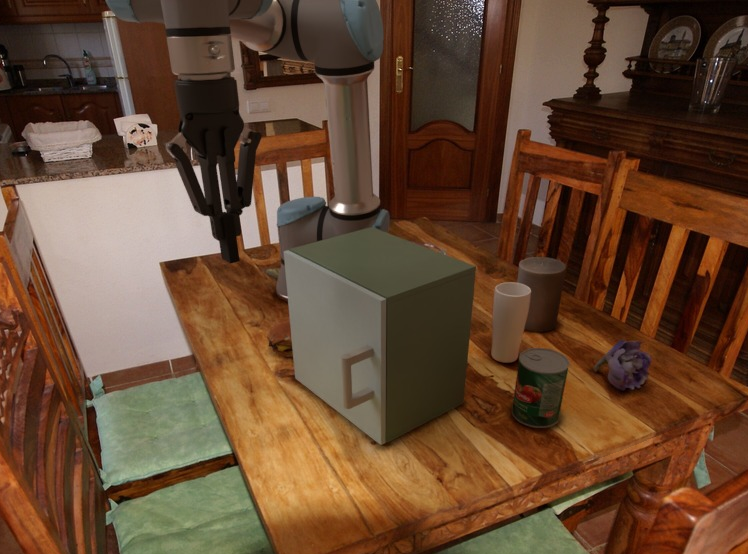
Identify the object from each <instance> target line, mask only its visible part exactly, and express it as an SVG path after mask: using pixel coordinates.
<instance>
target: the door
mask: <svg viewBox="0 0 748 554" xmlns="http://www.w3.org/2000/svg"><path fill="white" fill-rule="evenodd" d="M284 261H285V272H286V283H287V294H288V302H287V304H288V305H287V306H288V316H289V321H290V327H291V338H292V349H293V357H292V360H293V369H294V370H293V371H294V379H295V380H296V381H298V382H299V383H300V384H302V385H303V386H304V387H305V388H307V389H308V390H309V391H310V392H312V393H313V394H314V395H316V396H317V397H318V398H319V399H321V400H322V401H323V402H324V403H326V404H327V405H328V406H330V407H331V408H332V409H333V410H334V411H336V412H337V413H339V414H340V415H341V416H342V417H344V418H345V419H346V420H348V421H349V422H350V423H351V424H353V425H354V426H355V427H357V428H358V429H359V430H360V431H362V432H363V433H364V434H365V435H367V436H368V437H369V438H371V439H372V440H373V441H375V442H376V443H377V444H378V445H379V446H383V445H385V444H386V442H385V436H386V299H385V298H383V297H381V296H379V295H377V294H375V293H373V292H371V291H369V290H367V289H365V288H363V287H361V286H359V285H357V284H355V283H353V282H351V281H349V280H347V279H345V278H343V277H341V276H339V275H337V274H335V273H333V272H331V271H329V270H327V269H325V268H323V267H321V266H319V265H317V264H315V263H313V262H311V261H309V260H307V259H305V258H303V257H301V256H299V255H297V254H295V253H293V252H291V251H289V250H287V251H284Z"/></svg>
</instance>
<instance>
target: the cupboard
mask: <svg viewBox="0 0 748 554" xmlns="http://www.w3.org/2000/svg"><path fill="white" fill-rule="evenodd" d="M290 251H291V252H293V253H295V254H297V255H299V256H301V257H303V258H305V259H307V260H309V261H311V262H313V263H315V264H317V265H319V266H321V267H323V268H325V269H327V270H329V271H331V272H333V273H335V274H337V275H339V276H341V277H343V278H345V279H347V280H349V281H351V282H353V283H355V284H357V285H359V286H361V287H363V288H365V289H367V290H369V291H371V292H373V293H375V294H377V295H379V296H381V297H383V298H385V299H386V436H385V444H388V443H390V442H392V441H394V440H396V439H398V438H400V437H401V436H404V435H405V434H408V433H409V432H411V431H413V430H416V429H417V428H418V427H421V426H422V425H424V424H426V423H429V422H430V421H433V420H435V419H436V418H438V417H440V416H442V415H444V414H445V413H448V412H450V411H451V410H453V409H455V408H457V407H459V406H461V405H463V404H464V403H465V393H466V381H467V371H468V363H469V361H468V359H469V349H470V338H471V327H472V315H473V304H474V293H475V282H476V271H477V265H474V264H471V263H468V262H465V261H463V260H461V259H457V258H455V257H452V256H450V255H447V254H445V253H442V252H439V251H436V250H434V249H431V248H429V247H426V246H424V245H421V244H418V243H415V242H413V241H410V240H407V239H404V238H402V237H399V236H397V235H394V234H391V233H389V232H388V233H386V232H384V231H381V230H378V229H376V228H373V227H370V228H366V229H363V230H359V231H355V232H351V233H348V234H344V235H340V236H336V237H333V238H329V239H325V240H321V241H318V242H314V243H310V244H306V245H303V246H299V247H295V248H291V249H290Z"/></svg>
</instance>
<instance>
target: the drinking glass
mask: <svg viewBox="0 0 748 554" xmlns="http://www.w3.org/2000/svg"><path fill="white" fill-rule="evenodd" d="M492 299H493V300H492V315H491V316H492V320H491V321H492V325H491V326H492V327H491V351H490V356H491V357H492V359H494V360H495V361H496V362H499V363H502V364H504V363H505V364H509V363H514V362H516V361H517V360H518V359H519V356H520V349H521V345H522V340H523V336H524V332H525V330H524V328H525V324H526V320H527V316H528V312H529V306H530V299H531V289H530V288H529V287H528V286H526V285H524V284H521V283H517V282H515V281H507V282H502V283H498V284H497V285H496V286H495V287H494V293H493V298H492Z"/></svg>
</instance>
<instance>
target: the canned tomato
mask: <svg viewBox="0 0 748 554" xmlns="http://www.w3.org/2000/svg"><path fill="white" fill-rule="evenodd" d="M569 367H570V361H569V358H568V357H567V356H566V355H564V354H563V353H561V352H559V351H556V350H554V349H551V348H546V347H545V348H544V347H533V348H532V347H531V348H528V349H525V350H523V351H521V353H519V356H518V364H517V370H516V377H515V378H516V379H515V380H516V381H515V385H514V392H513V399H512V408H511V414H512V417H513V418H514V419H515V420H516V422H518V423H520V424H521V425H523V426H527V427H530V428H534V429H547V428H551V427H553V426H555V425H556V424H557V423H558V422H559V420H560V414H561V411H562V410H561V409H562V403H563V399H564V392H565V389H566V383H567V379H568V371H569Z"/></svg>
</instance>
